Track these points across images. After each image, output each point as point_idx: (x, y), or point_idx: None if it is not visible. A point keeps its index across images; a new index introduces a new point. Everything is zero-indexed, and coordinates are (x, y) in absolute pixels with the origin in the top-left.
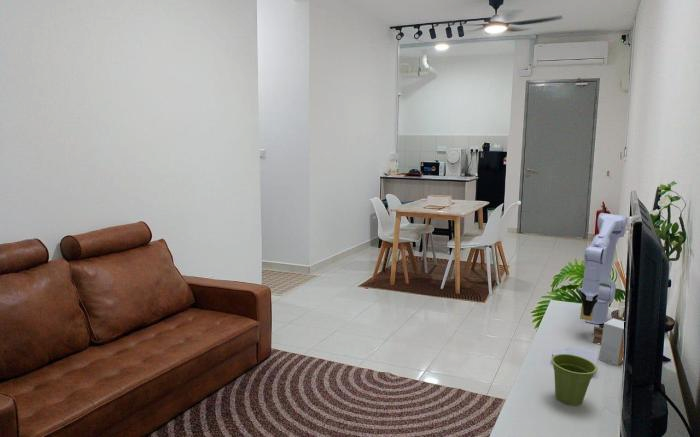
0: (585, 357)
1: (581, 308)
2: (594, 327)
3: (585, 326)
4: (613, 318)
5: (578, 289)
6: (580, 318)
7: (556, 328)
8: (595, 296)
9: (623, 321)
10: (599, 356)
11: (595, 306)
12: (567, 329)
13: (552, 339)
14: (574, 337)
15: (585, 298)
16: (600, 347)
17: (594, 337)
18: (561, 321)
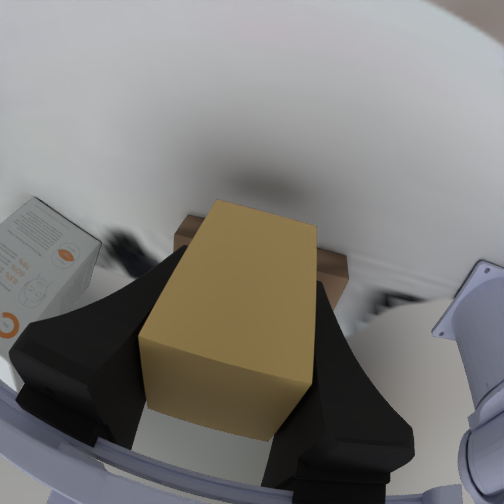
0: None
1: (180, 261)
2: (329, 274)
3: (430, 241)
4: (5, 363)
5: (118, 497)
6: (216, 205)
7: (356, 44)
8: (267, 479)
9: (9, 379)
10: (26, 203)
11: (496, 358)
12: (361, 115)
13: (141, 3)
14: (227, 128)
15: (20, 374)
16: (2, 222)
17: (176, 232)
18: (488, 125)
